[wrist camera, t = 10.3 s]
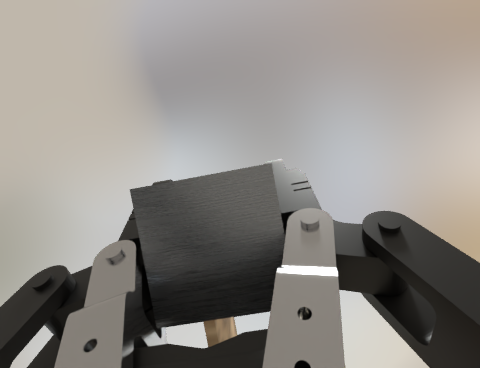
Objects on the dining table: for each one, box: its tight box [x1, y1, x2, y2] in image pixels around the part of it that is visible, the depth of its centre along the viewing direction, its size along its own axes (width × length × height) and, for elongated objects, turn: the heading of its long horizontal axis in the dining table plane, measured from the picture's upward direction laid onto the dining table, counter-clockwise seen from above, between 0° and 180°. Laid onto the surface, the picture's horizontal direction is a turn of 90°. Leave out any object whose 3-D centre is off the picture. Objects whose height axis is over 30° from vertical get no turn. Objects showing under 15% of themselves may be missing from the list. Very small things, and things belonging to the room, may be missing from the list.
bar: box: [130, 163, 285, 328], centre depth 19 cm, size 22×4×4 cm, turn 176°
